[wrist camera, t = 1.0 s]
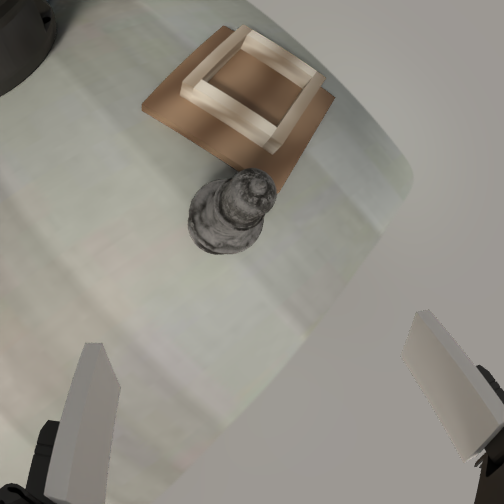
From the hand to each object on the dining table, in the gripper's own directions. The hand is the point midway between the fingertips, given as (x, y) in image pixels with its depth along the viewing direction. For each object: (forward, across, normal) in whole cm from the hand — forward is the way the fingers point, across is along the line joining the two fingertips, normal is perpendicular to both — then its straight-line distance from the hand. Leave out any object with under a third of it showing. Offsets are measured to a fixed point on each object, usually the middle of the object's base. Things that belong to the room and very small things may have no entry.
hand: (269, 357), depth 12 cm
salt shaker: (+17, -1, -1) cm, 17 cm away
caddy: (+24, +2, +9) cm, 26 cm away
